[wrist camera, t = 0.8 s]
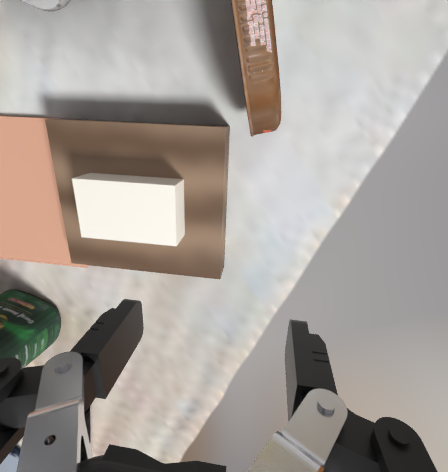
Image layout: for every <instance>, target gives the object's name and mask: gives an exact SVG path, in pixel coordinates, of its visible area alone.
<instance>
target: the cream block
mask: <svg viewBox="0 0 448 472" xmlns="http://www.w3.org/2000/svg"><path fill="white" fill-rule="evenodd" d="M72 182H73V188H74V195H75V201H76V207H77V213H78V219H79V225H80V231H81V237H84V238H95V239H105V240H116V241H126V242H137V243H147V244H157V245H168V246H177V245H178V244H179V242H180V241H181V239H182V238H183V237H184V235H185V219H184V179H174V178H160V177H145V176H130V175H115V174H100V173H88V174H84V175H81V176H78V177H75V178H72Z"/></svg>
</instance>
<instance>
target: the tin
mask: <svg viewBox="0 0 448 472" xmlns="http://www.w3.org/2000/svg"><path fill="white" fill-rule="evenodd" d="M231 3H232V11H233V18H234V25H235V31H236V38H237V46H238V52H239V60H240V67H241V74H242V81H243V87H244V94H245V100H246V108H247V114H248V120H249V127H250V133H251V136H254V135H256V134H261V133H266V132H271V131H275V130H276V129H277V128H278V126H279V124H280V121H281V92H280V79H279V66H278V56H277V46H276V36H275V25H274V15H273V6H272V0H231Z"/></svg>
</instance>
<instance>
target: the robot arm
mask: <svg viewBox="0 0 448 472" xmlns="http://www.w3.org/2000/svg"><path fill="white" fill-rule="evenodd" d="M142 334H143V316H142V304H141V302H140V301H137V300H129V299H124V300H123V301H122V302H121V303H120V304H119V306H118V307H117V308H116V309H114V308H111V309H110V310H108V311H107V312H105V313H103V314H102V315H101V316H100V317H99V318H98V320H97V321H96V323H94V324H93V325H92V327H91V328H90V330H88V331H87V332H86V333H85V335H84V336H83V337H82V338H81V339H80V340H79V342H78V343H77V344H76V345H75V346H74V347H73V348H72V350H71V351H70V352H64V353H61V354H58V355H56V356H54V357H52V358H51V359H50V360H48V361H47V362H46V364H45V365H43V366H35V367H26V368H23V367H22V363H21V361H20V360H19V359H17V358H4V359H0V464H1V463H2V461H3V460H4V459H5V458H6V457H7V455H8V454H9V453H10V452H11V451H12V449H13V448H14V447H15V446H16V444H17V443H18V442H19V441H20V440H21V438H22V437H23V441H22V446H21V451H20V456H19V461H18V467H17V472H226V466H221V465H216V464H211V463H206V462H200V461H189V462H179V463H169V464H164V463H161V462H159V461H157V460H155V459H153V458H152V457H150V456H148V455H146V454H144V453H142V452H140V451H139V450H136V449H131V448H126V447H120V446H115V445H110V444H109V446H108V448H107V450H106V452H105V454H104V455H101V456H96V457H93V450H92V406H91V404H92V402H93V401H94V399H95V398H96V397H97V398H103V399H106V397H107V396H108V394H109V392H110V391H111V389H112V387H113V386H114V384H115V382H116V380H117V379H118V377H119V375H120V374H121V372H122V370H123V369H124V367H125V365H126V364H127V362H128V360H129V359H130V357H131V355H132V353H133V352H134V350H135V348H136V347H137V345H138V343H139V342H140V340H141V337H142ZM285 366H286V367H285V368H286V387H287V404H288V421H289V422H288V423H287V425H286V426H285V428H284V429H283V431H282V432H281V433H279V432H278V431H277V432H275V433H274V434H273V436H272V437H271V438H270V440H269V441H268V443H267V444H266V446H265V447H264V448H263V450H262V451H261V453H260V454H259V456H258V457H257V458H256V460H255V461H254V463H253V464H252V466H251V467H250V469H249V470H248V471H247V472H437V470H436V468H435V466H434V464H433V462H432V460H431V458H430V456H429V454H428V452H427V450H426V448H425V446H424V444H423V442H422V441H421V439H420V437H419V436H418V434H417V433H416V432H415V431H414V430H413V429H412V428H411V427H410V426H408V425H407V424H405V423H404V422H402V421H400V420H397V419H395V418H391V417H382V418H380V419H378V420H377V421H376V423H374V422H371V421H369V420H367V419H364V418H362V417H360V416H358V415H356V414H354V413H353V412H351V411H350V410H349V409H348V408H346V405H345V403H344V402H343V401H342V399H341V398H340V397H339V396H338V394H337V390H336V386H335V382H334V378H333V374H332V370H331V366H330V363H329V357H328V353H327V349H326V345H325V343H324V341H323V340H322V339H321V338H320V336H319V335H316V334H309V331H308V325H307V322H306V321H298V320H290V321H289V327H288V334H287V341H286V348H285Z"/></svg>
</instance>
